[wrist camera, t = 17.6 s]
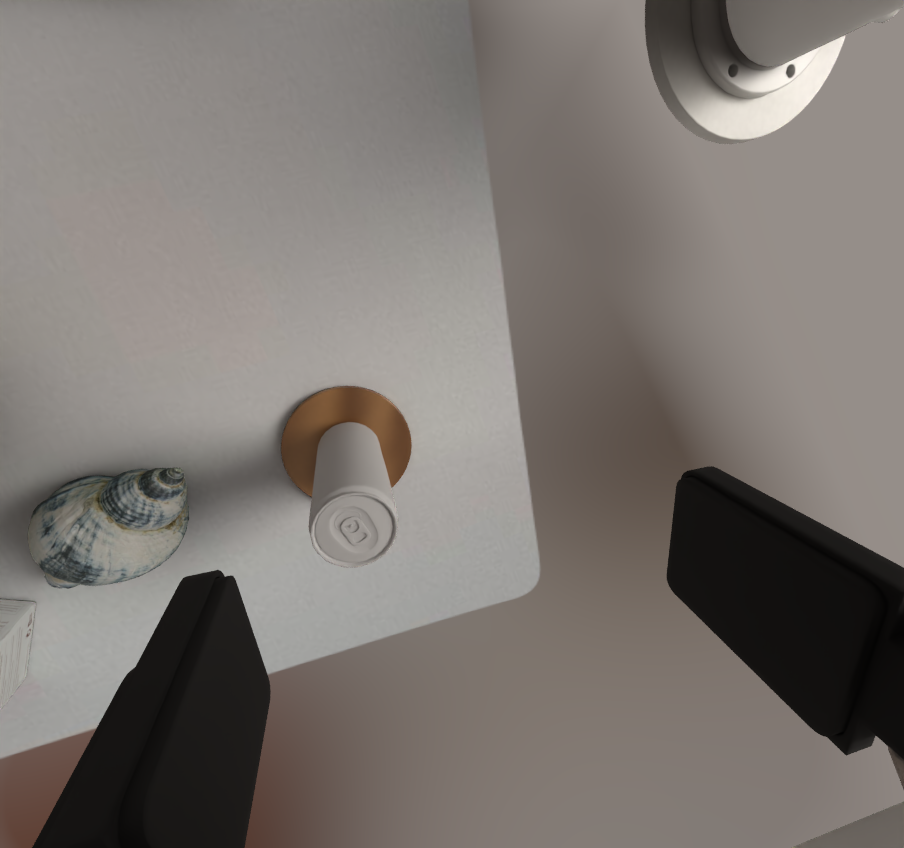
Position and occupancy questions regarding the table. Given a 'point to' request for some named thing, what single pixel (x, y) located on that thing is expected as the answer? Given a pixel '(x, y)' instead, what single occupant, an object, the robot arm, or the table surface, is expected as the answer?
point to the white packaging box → (14, 644)
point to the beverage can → (351, 498)
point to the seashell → (109, 527)
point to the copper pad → (342, 408)
